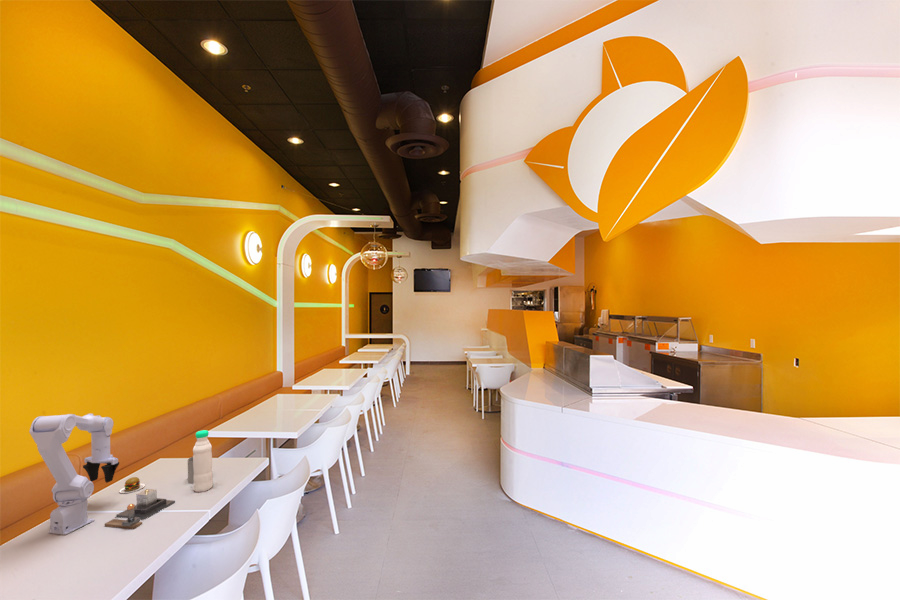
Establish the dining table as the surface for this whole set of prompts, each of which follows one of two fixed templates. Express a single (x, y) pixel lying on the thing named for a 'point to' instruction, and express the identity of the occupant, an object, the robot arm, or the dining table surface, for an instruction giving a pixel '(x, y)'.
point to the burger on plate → (132, 485)
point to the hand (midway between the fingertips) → (101, 481)
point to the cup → (190, 471)
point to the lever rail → (118, 524)
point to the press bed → (148, 509)
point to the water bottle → (202, 462)
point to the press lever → (130, 516)
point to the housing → (146, 498)
